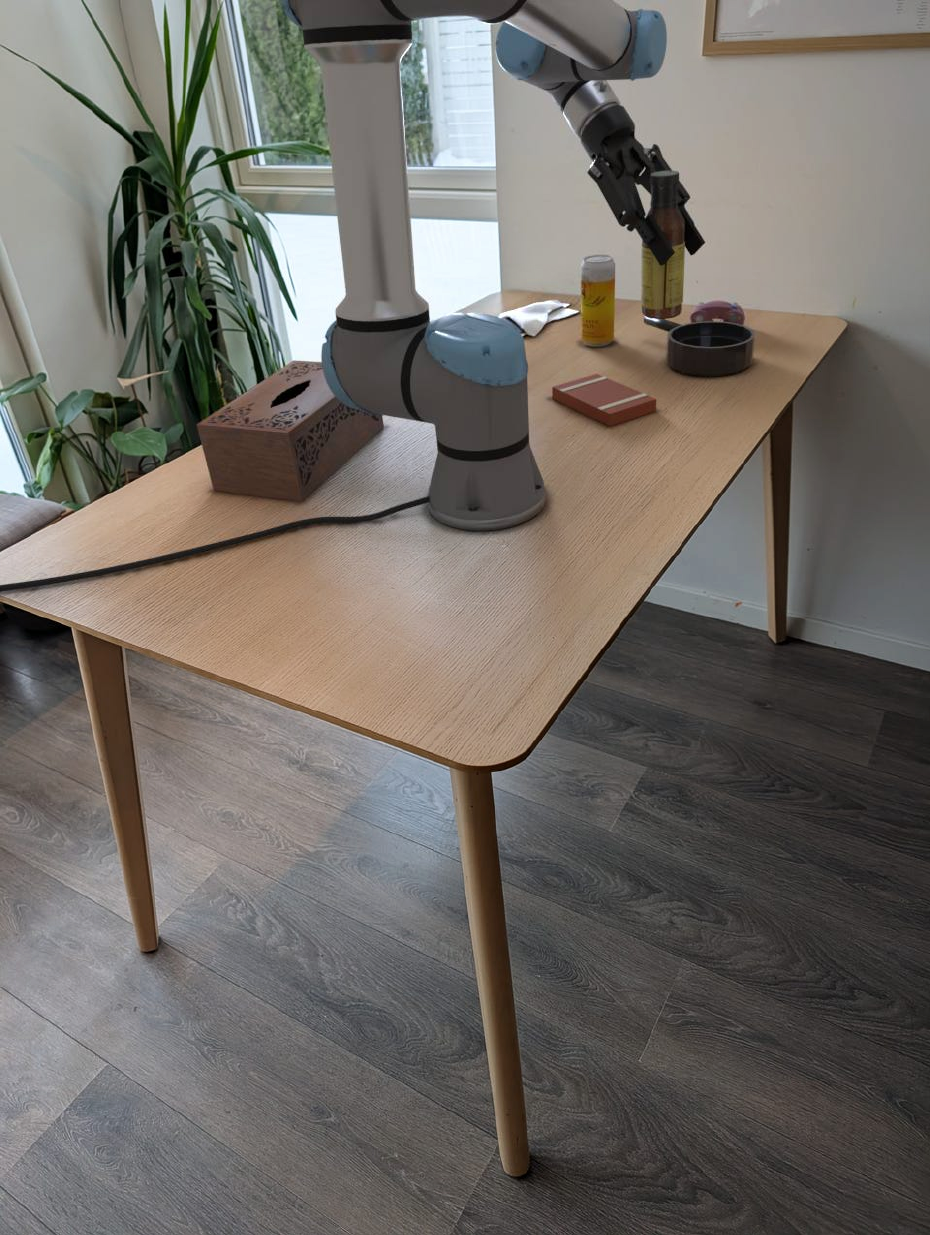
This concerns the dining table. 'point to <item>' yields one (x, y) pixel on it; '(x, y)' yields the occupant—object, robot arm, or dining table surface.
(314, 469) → the tissue box cover
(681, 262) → the sauce bottle
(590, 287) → the beer can
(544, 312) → the cloth
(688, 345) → the pan
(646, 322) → the pan handle
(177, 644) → the dining table surface
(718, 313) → the video game controller
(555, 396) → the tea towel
